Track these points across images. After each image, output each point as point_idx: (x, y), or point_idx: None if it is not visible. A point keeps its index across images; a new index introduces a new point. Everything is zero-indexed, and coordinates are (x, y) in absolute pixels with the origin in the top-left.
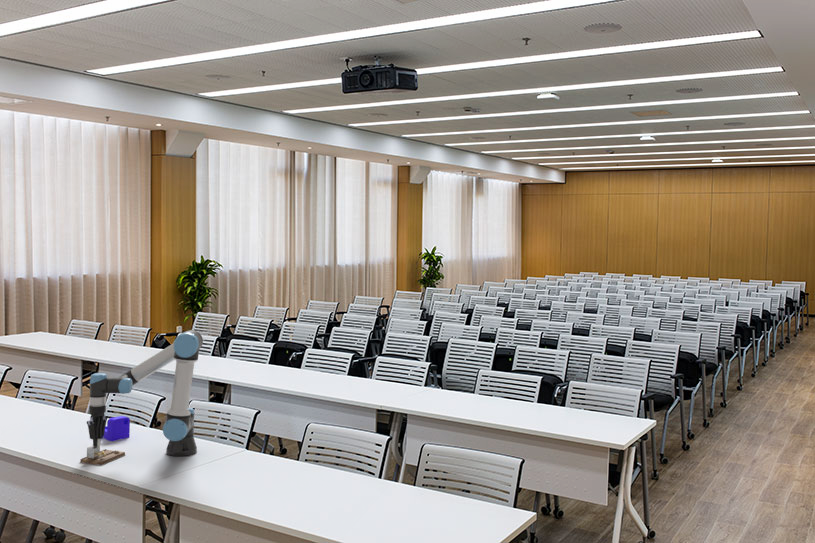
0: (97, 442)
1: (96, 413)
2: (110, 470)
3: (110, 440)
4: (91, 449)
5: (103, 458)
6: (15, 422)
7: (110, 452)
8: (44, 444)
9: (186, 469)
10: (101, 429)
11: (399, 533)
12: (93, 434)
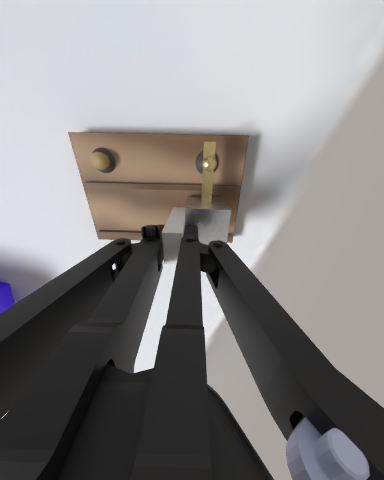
0: (183, 230)
1: None
2: (325, 9)
3: (9, 290)
4: (228, 222)
5: (200, 162)
6: None
7: (112, 196)
8: (135, 368)
9: None
10: (121, 276)
11: None
12: (243, 265)
